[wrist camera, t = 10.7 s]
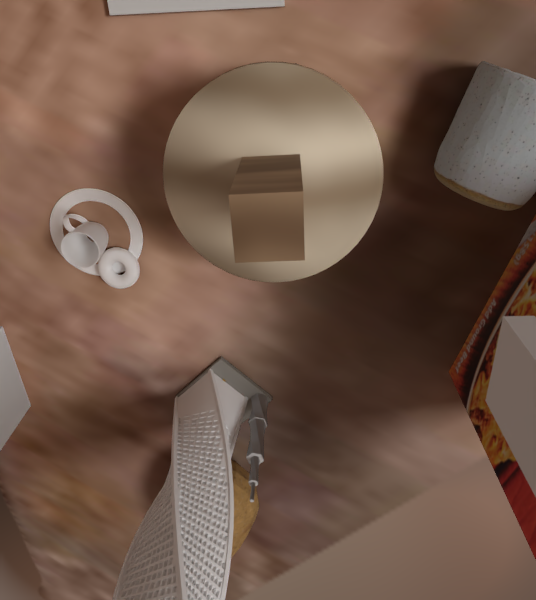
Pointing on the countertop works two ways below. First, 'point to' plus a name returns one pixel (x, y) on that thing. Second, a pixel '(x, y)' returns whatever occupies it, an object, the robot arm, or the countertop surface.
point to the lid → (273, 172)
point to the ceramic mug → (492, 140)
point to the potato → (242, 506)
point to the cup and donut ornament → (97, 239)
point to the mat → (184, 5)
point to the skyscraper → (197, 492)
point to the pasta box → (477, 370)
